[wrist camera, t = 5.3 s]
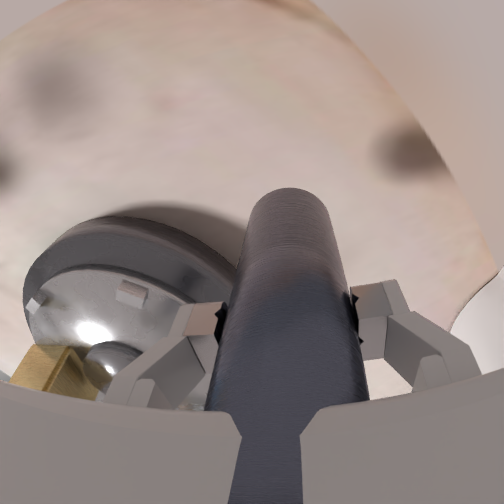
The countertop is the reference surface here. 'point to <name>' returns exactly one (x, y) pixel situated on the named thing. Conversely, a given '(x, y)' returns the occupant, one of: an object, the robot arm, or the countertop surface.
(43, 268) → the housing
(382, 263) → the countertop surface
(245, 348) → the pin
